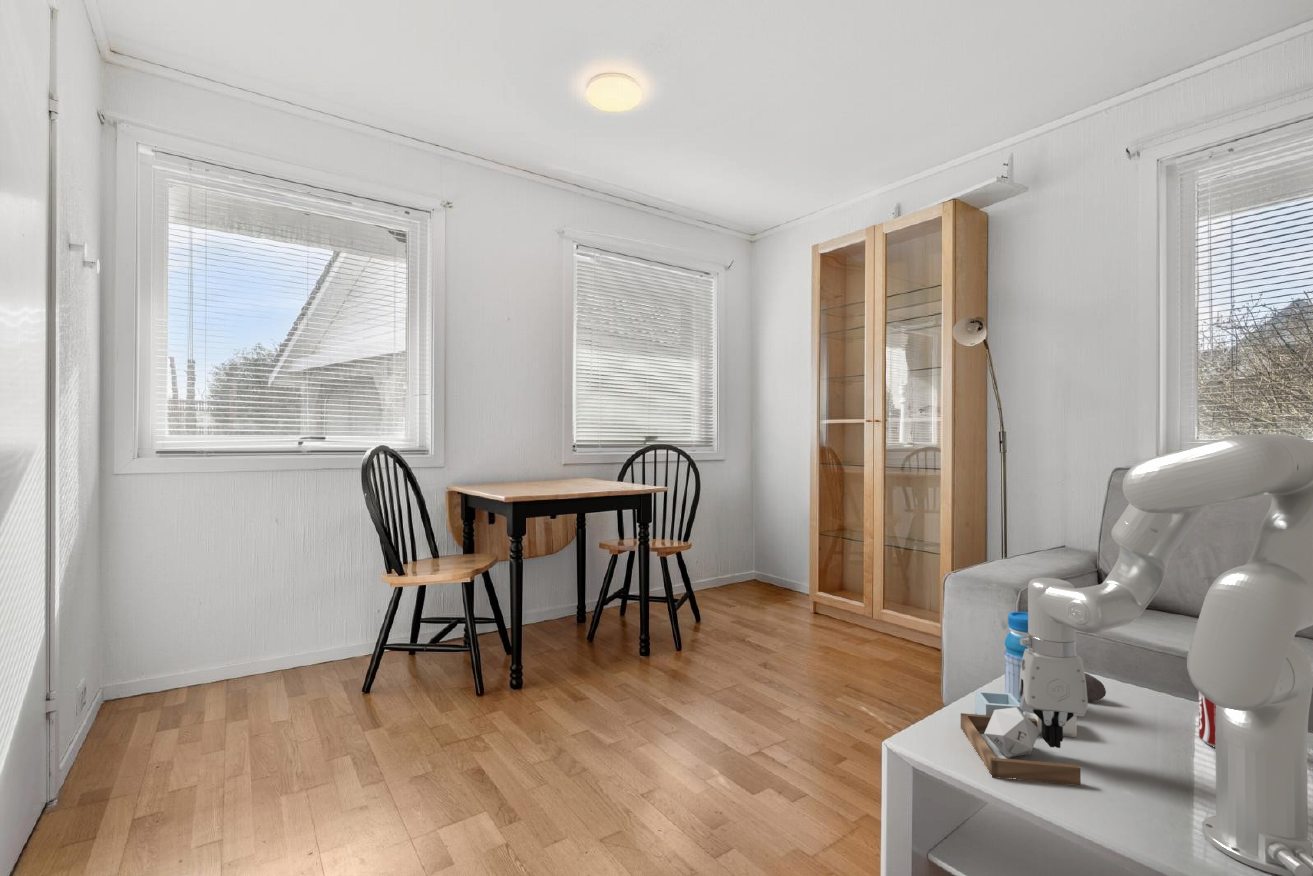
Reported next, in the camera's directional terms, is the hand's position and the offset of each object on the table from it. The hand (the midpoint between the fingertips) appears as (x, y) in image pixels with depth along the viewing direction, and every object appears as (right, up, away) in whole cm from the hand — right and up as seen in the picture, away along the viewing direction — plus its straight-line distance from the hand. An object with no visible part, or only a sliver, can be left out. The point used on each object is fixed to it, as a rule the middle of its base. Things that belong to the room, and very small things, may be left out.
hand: (1052, 744), depth 115 cm
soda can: (+36, -3, +4) cm, 36 cm away
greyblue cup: (-2, -3, +14) cm, 15 cm away
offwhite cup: (+7, -3, +12) cm, 14 cm away
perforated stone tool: (+21, -3, +27) cm, 35 cm away
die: (-6, -3, +2) cm, 7 cm away
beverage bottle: (+9, -3, +23) cm, 24 cm away
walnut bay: (-6, -3, +1) cm, 7 cm away
